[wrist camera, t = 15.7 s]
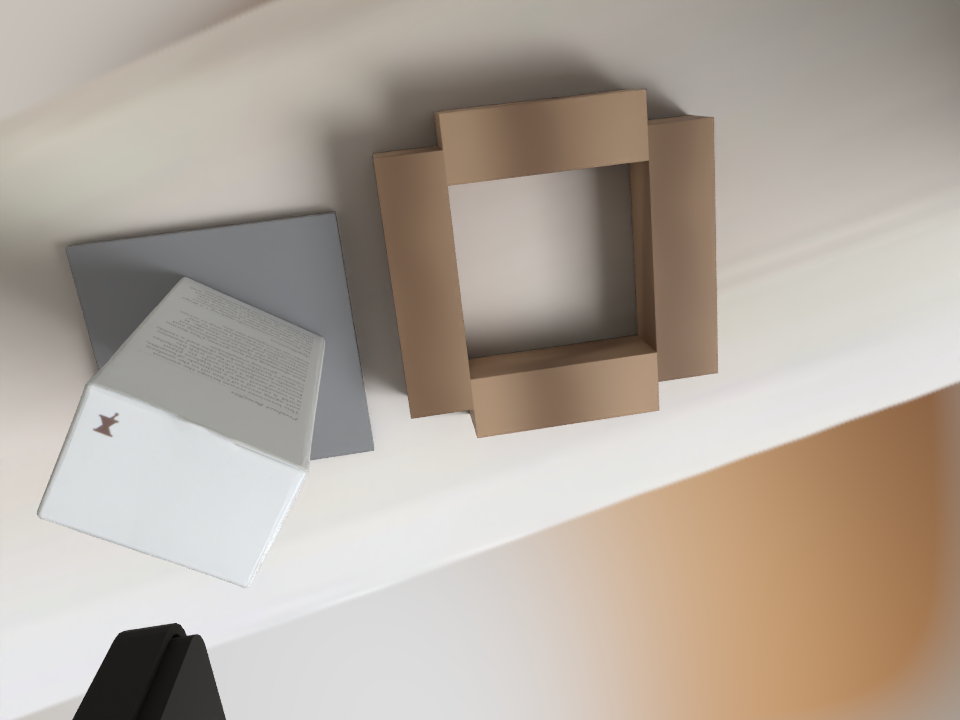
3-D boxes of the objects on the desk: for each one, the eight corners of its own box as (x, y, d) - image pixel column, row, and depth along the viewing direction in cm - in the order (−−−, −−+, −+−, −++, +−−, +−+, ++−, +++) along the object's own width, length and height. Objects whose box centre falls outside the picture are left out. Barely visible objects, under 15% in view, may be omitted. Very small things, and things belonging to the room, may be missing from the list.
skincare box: (143, 368, 33) (24, 517, 21) (184, 272, 32) (82, 375, 20) (288, 428, 34) (248, 596, 23) (331, 338, 33) (312, 467, 22)
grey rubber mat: (335, 211, 32) (334, 213, 32) (373, 445, 36) (373, 450, 35) (69, 245, 31) (65, 247, 31) (134, 482, 35) (130, 487, 34)
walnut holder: (688, 82, 32) (713, 81, 30) (695, 381, 36) (718, 401, 34) (367, 119, 31) (367, 122, 29) (412, 423, 35) (415, 447, 33)
